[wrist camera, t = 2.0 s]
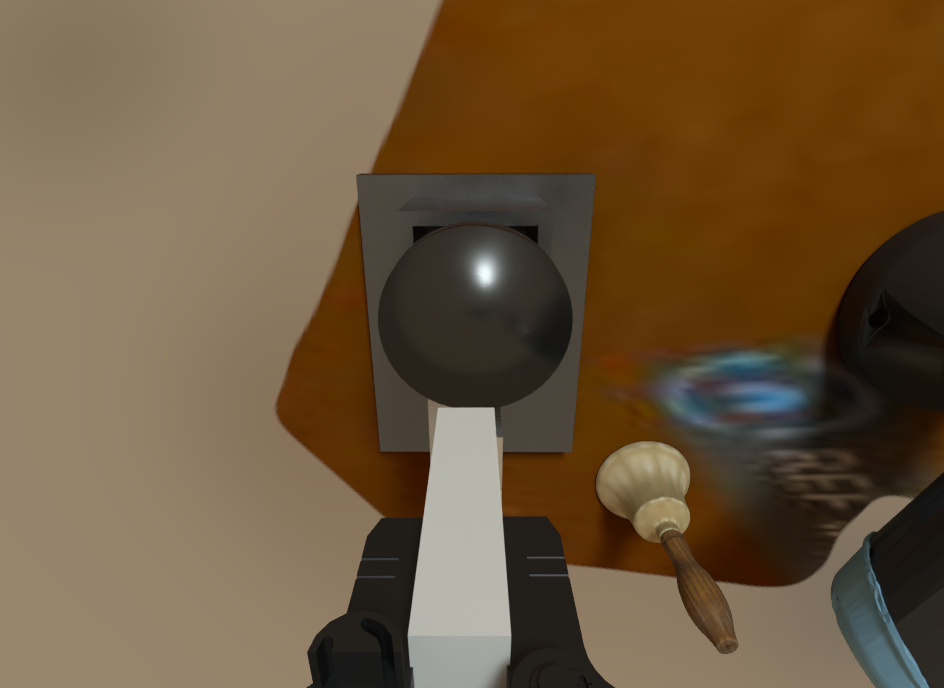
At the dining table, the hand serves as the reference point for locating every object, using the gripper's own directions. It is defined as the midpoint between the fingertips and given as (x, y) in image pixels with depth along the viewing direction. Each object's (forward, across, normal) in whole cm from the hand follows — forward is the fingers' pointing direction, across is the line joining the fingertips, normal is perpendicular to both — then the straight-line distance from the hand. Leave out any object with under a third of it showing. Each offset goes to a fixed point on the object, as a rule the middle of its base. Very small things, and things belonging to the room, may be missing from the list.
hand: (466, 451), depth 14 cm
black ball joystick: (+19, 0, +4) cm, 20 cm away
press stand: (+25, 0, +5) cm, 26 cm away
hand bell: (+25, -15, +20) cm, 36 cm away
